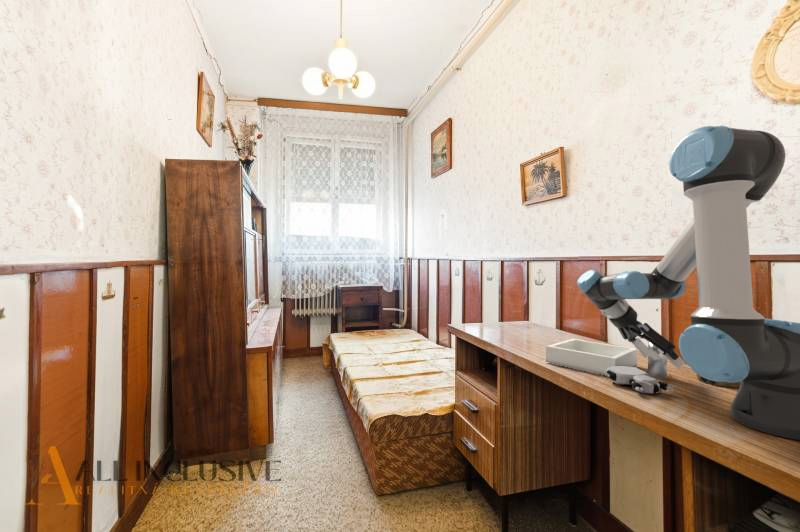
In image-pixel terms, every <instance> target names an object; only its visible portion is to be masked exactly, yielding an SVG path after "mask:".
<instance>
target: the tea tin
mask: <svg viewBox="0 0 800 532" xmlns="http://www.w3.org/2000/svg"><path fill="white" fill-rule="evenodd" d="M664 338H665V337H664ZM665 339H667V340H668V341H669V339H668V338H667V337H666V338H665ZM647 342H648V345H647V347H648V356H647V374H648V376H649V377H651V378H654V379H661V380H666V379H668V360H669V359H668V358H667V357H666V356H665V355H663V351H662V350H660V349H659V348H657V347H656V346H654V345H653V344H651V343H650V342H649V341H647Z"/></svg>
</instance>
